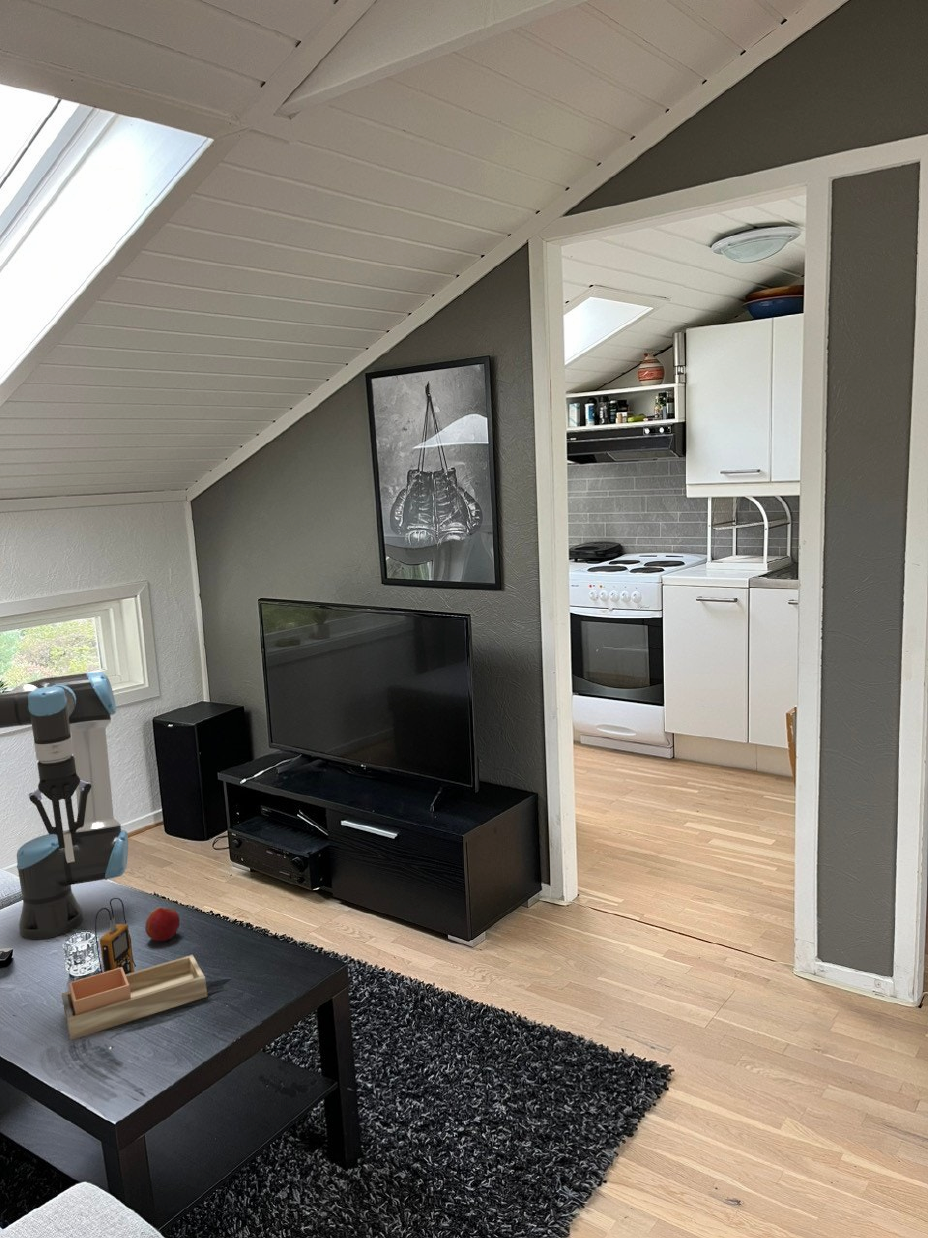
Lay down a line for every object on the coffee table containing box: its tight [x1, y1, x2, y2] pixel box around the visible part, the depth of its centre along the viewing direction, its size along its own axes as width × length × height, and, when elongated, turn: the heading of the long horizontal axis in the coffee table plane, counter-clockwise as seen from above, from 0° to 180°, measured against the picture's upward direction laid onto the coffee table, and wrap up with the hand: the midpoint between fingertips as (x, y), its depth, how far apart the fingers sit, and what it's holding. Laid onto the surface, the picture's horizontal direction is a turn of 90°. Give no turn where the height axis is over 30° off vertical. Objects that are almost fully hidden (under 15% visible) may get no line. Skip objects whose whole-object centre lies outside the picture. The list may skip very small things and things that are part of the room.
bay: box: [61, 954, 208, 1041], centre depth 208 cm, size 12×28×4 cm, turn 119°
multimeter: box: [94, 897, 137, 975], centre depth 215 cm, size 15×10×20 cm
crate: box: [68, 967, 131, 1016], centre depth 204 cm, size 9×11×6 cm
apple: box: [144, 907, 180, 942], centre depth 236 cm, size 8×8×8 cm
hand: (70, 860), depth 212 cm, fingers closed
